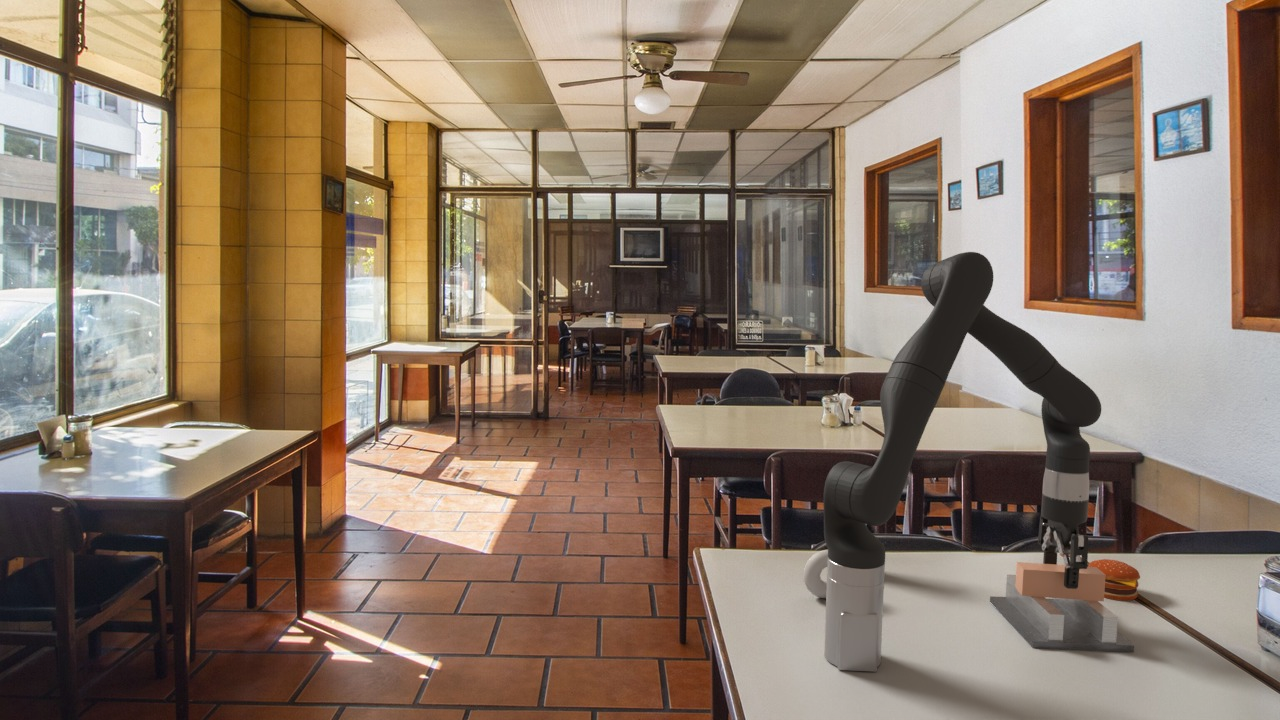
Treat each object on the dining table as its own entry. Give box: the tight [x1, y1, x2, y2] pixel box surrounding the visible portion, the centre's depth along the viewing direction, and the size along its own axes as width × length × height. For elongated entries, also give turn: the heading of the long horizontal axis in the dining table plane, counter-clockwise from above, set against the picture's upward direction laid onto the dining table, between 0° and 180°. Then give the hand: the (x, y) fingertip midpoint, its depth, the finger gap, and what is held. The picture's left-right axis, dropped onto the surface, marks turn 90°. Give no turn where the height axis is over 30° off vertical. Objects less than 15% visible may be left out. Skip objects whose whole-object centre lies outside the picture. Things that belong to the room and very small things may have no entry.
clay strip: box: [1015, 561, 1106, 602], centre depth 146 cm, size 4×14×5 cm, turn 80°
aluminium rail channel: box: [989, 574, 1135, 653], centre depth 146 cm, size 20×17×6 cm
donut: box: [802, 549, 828, 599], centre depth 158 cm, size 10×3×10 cm, turn 101°
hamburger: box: [1087, 558, 1141, 602], centre depth 163 cm, size 9×10×7 cm
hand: (1059, 579), depth 146 cm, fingers open, 8 cm apart
